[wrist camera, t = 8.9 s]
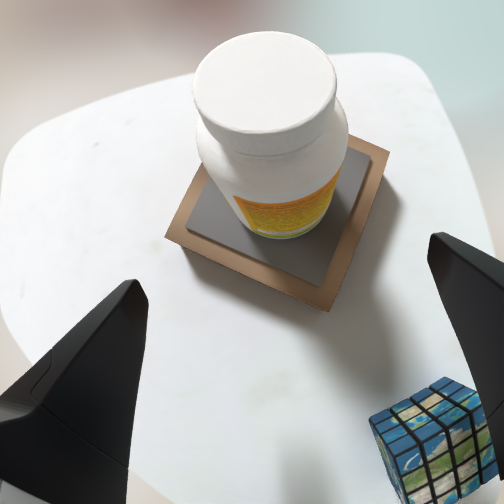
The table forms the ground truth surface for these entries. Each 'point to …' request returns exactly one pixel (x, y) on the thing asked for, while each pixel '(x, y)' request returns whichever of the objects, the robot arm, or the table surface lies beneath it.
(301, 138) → the supplement bottle
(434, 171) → the table surface
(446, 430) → the puzzle
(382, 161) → the base block
